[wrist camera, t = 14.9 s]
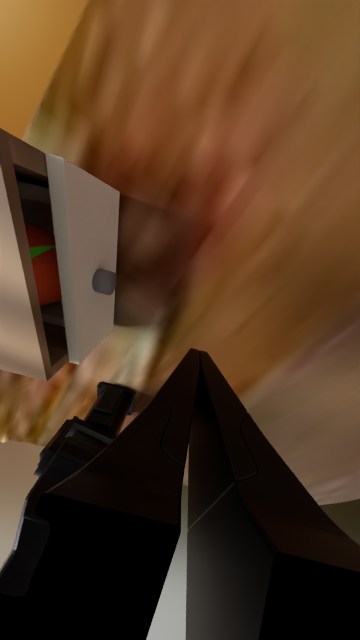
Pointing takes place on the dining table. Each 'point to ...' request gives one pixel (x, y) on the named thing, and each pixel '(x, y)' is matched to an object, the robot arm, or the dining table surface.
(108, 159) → the dining table surface
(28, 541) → the robot arm
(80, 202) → the drawer
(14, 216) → the small brown cabinet
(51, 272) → the clementine
